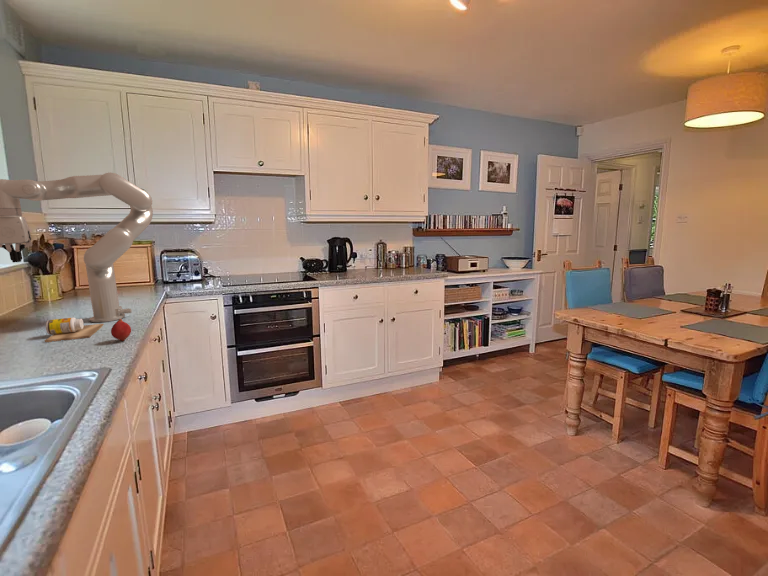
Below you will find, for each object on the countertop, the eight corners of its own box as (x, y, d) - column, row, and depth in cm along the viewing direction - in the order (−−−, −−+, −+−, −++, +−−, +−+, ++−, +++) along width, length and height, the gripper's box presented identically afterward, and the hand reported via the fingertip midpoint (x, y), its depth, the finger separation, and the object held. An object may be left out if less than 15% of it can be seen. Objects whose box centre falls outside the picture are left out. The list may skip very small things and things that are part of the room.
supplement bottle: (50, 320, 146) (83, 316, 149) (51, 334, 145) (85, 331, 149) (44, 319, 140) (78, 316, 144) (45, 335, 140) (80, 331, 144)
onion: (111, 344, 133) (108, 322, 131) (114, 340, 138) (110, 318, 136) (131, 341, 135) (128, 319, 134) (133, 337, 140) (130, 316, 139)
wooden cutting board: (103, 325, 158) (103, 323, 158) (89, 337, 141) (89, 335, 141) (64, 329, 153) (64, 327, 153) (45, 342, 137) (44, 340, 136)
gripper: (-24, 213, 139) (-14, 264, 142) (29, 213, 145) (37, 261, 148) (-13, 213, 146) (-4, 262, 149) (37, 213, 152) (45, 260, 155)
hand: (17, 261), depth 149 cm, fingers closed
